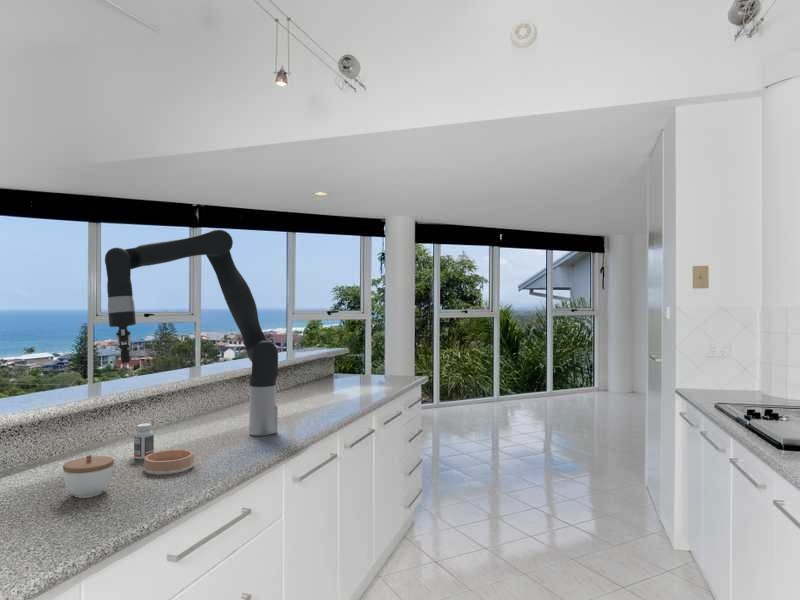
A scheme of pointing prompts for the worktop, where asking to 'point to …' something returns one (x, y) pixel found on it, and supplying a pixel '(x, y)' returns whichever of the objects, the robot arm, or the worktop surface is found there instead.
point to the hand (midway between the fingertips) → (125, 362)
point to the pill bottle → (143, 441)
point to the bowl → (168, 461)
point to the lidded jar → (88, 475)
